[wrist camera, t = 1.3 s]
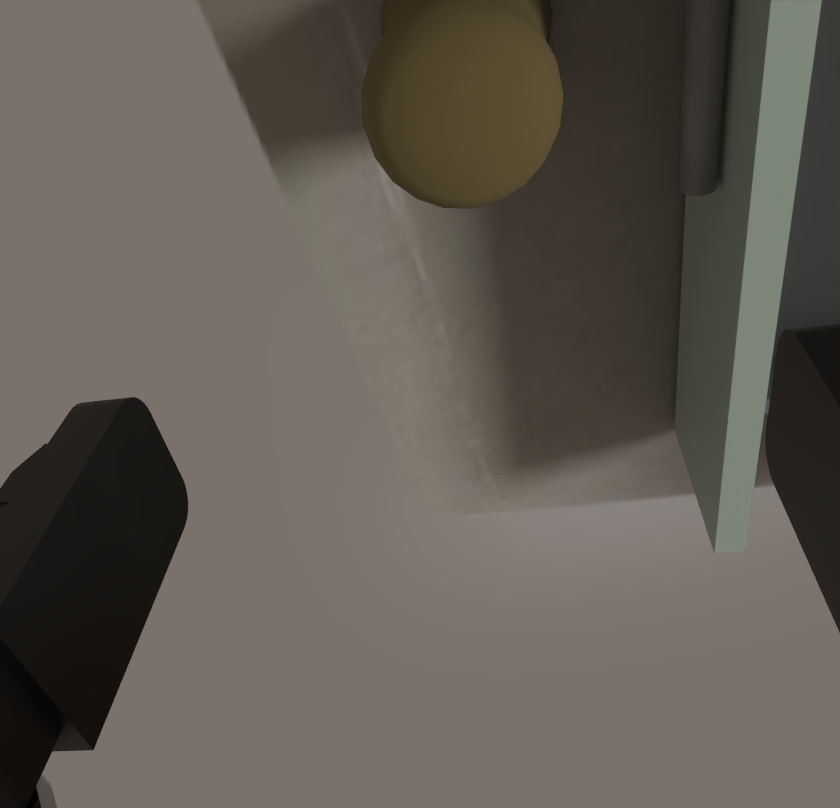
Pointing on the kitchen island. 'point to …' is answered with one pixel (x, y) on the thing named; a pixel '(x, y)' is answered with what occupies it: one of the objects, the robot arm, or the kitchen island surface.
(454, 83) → the olive tall rounded piece
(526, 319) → the kitchen island surface
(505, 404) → the kitchen island surface
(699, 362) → the drawer
